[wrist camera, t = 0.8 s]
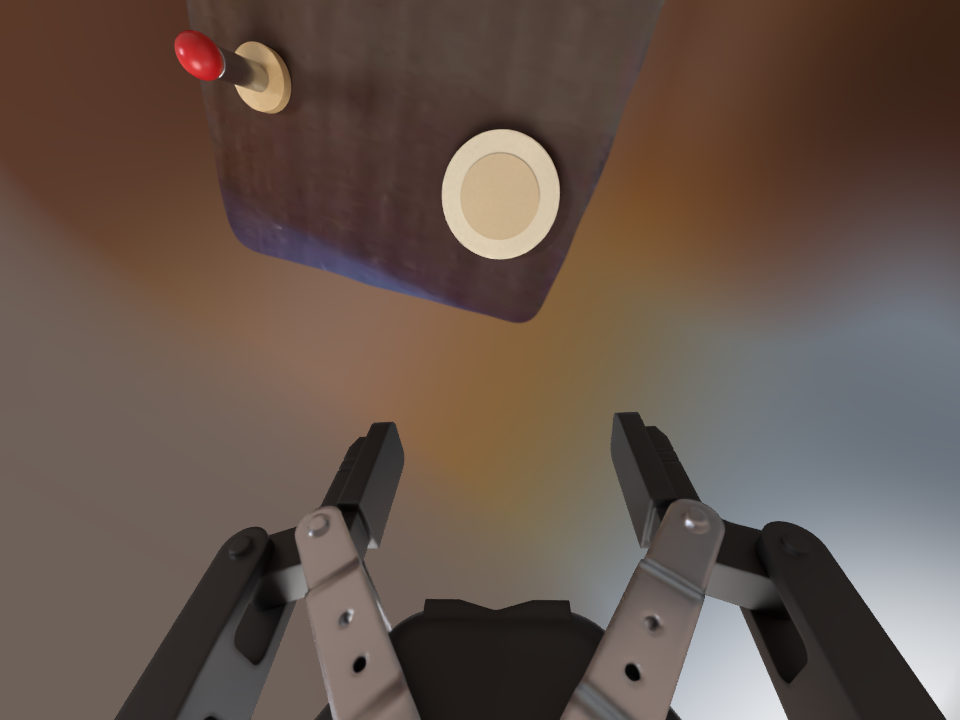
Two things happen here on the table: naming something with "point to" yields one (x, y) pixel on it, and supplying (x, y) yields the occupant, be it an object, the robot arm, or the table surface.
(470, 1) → the table surface
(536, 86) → the table surface
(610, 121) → the table surface
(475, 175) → the plate
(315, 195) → the table surface
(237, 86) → the red ball post
